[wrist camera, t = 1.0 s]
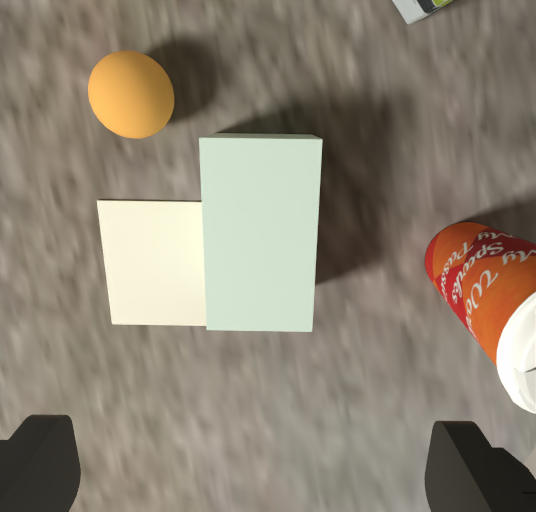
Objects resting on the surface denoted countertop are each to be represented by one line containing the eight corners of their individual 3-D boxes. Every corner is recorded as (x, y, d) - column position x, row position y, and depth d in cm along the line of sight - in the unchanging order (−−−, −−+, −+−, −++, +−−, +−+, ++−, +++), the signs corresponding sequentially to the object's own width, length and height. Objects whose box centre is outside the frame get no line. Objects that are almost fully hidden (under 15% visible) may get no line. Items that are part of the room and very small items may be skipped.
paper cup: (454, 187, 29) (606, 245, 16) (535, 241, 30) (738, 337, 17) (388, 274, 31) (473, 389, 18) (466, 321, 33) (599, 461, 19)
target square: (98, 200, 30) (96, 200, 30) (207, 201, 30) (207, 202, 29) (113, 322, 33) (112, 324, 33) (212, 324, 33) (211, 325, 33)
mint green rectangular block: (215, 133, 28) (199, 137, 22) (311, 134, 28) (322, 139, 22) (219, 288, 32) (206, 329, 26) (304, 289, 32) (312, 331, 26)
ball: (103, 56, 27) (66, 43, 22) (179, 57, 27) (159, 44, 22) (111, 136, 28) (79, 140, 23) (183, 137, 28) (165, 141, 23)
